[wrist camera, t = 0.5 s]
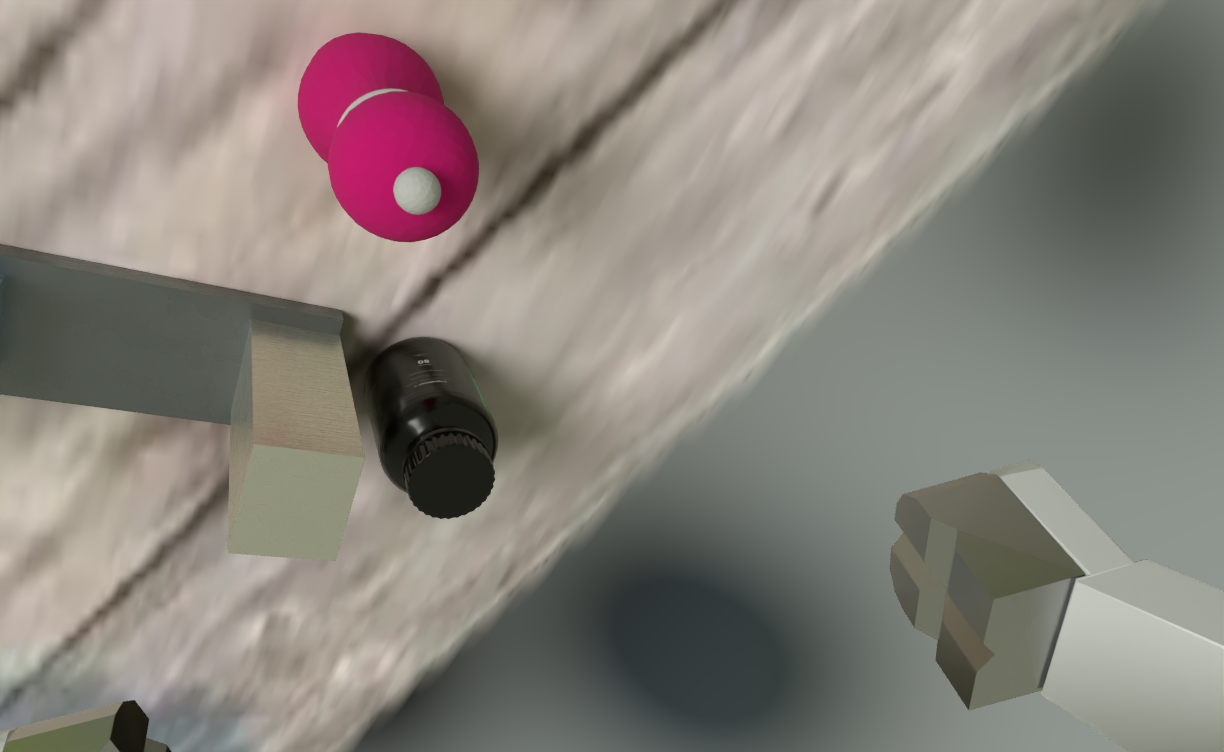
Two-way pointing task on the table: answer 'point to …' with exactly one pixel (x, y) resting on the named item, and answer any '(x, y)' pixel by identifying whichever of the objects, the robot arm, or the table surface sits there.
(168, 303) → the rail
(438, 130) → the pepper mill
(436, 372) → the supplement bottle
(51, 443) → the table surface
